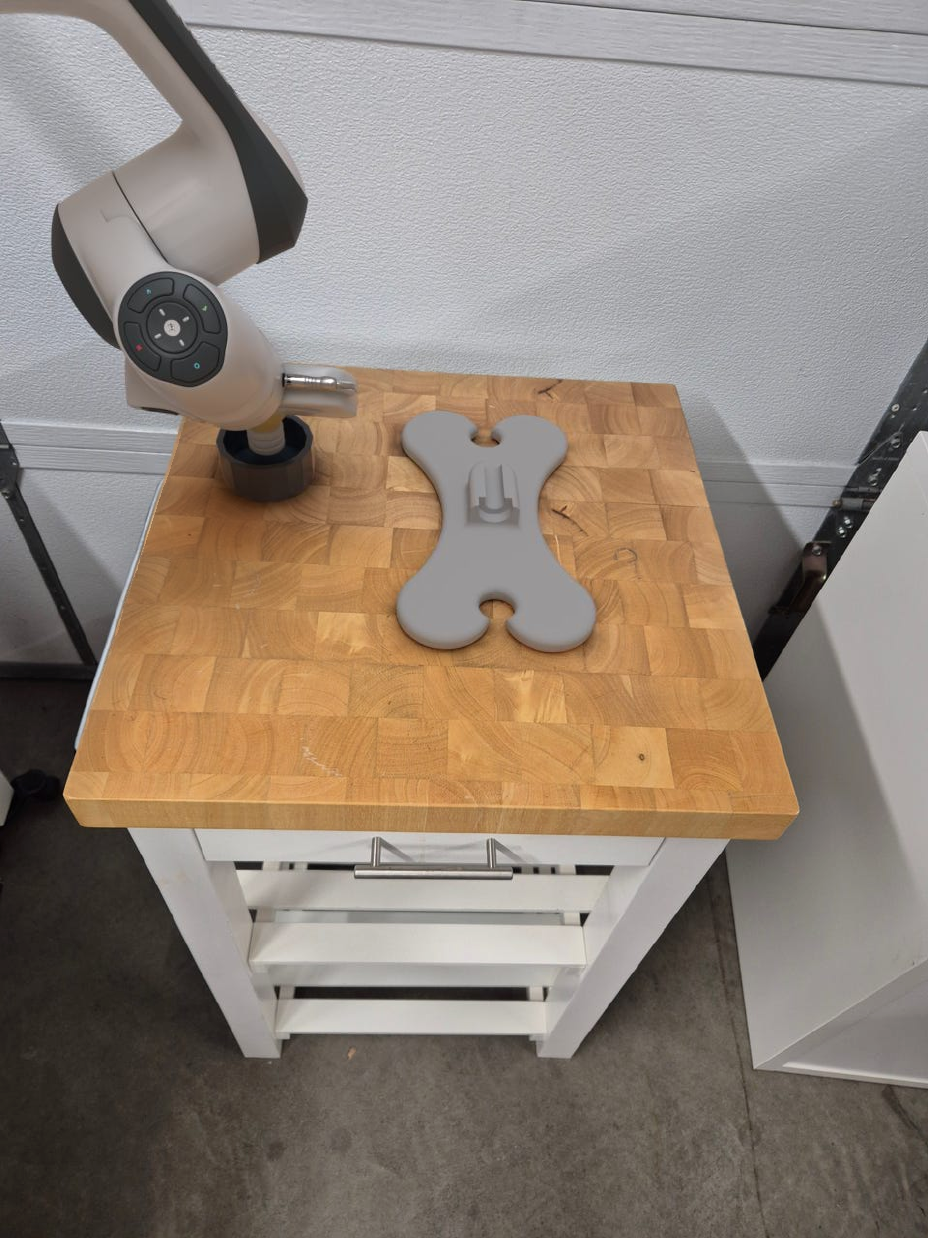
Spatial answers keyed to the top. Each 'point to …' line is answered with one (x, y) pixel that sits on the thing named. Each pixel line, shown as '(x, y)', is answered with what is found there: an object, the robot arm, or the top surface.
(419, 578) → the holder
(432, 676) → the top surface
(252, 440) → the light bulb
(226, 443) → the socket
